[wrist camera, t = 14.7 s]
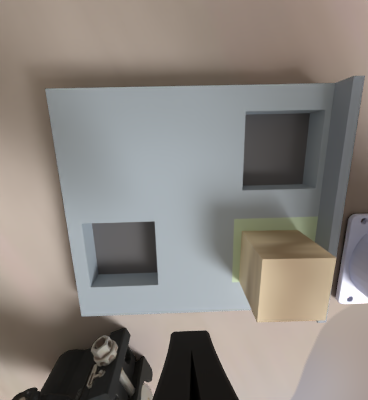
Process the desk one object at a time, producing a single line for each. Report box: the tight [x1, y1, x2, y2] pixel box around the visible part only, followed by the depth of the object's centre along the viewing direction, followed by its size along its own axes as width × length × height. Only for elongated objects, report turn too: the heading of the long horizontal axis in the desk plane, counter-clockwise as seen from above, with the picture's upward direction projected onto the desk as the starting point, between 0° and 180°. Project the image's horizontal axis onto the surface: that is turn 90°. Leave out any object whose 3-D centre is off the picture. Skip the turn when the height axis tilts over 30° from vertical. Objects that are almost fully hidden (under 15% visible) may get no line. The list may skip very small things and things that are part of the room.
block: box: [239, 230, 336, 322], centre depth 14 cm, size 4×4×4 cm
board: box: [45, 76, 365, 323], centre depth 16 cm, size 18×16×4 cm
